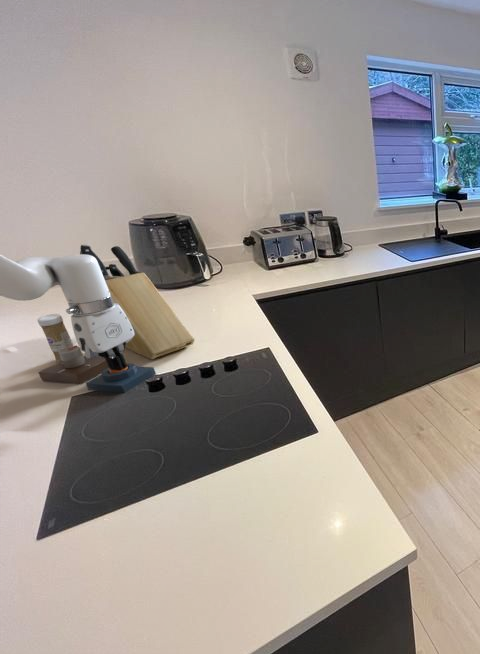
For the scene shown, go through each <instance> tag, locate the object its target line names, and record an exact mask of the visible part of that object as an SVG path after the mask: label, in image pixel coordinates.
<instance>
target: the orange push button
mask: <svg viewBox="0 0 480 654" xmlns="http://www.w3.org/2000/svg"><path fill="white" fill-rule="evenodd" d="M126 369H128V367H126V368H123V369H122V370H111V369H110V370H109V373H111V374H113V373H119V372H122V371H124V370H126Z"/></svg>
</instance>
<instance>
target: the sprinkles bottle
mask: <svg viewBox="0 0 480 654" xmlns="http://www.w3.org/2000/svg"><path fill="white" fill-rule="evenodd" d="M36 321H37V324H38V325H39V326H40V327H41V329H42V331H43V334H44V336H45V338H46V341H47V343H48V345H49V347H50V350H51V351H52V353H53V355H54V358H55V361H57V362H61V361H62V360H61V358H60V356H59V353H58V352H59V351H61V350H63V349H65V348H69V347H73V346H75V345H74V343H73V341H72V338H71V336H70V334H69V331H68V329H67V328H66V325H65V324H64V319H63V317H62V315H61V314H60V313H52V314H51V313H50V314H45V315H43V316H40V317H39V318H37V320H36Z"/></svg>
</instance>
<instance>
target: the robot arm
mask: <svg viewBox="0 0 480 654" xmlns="http://www.w3.org/2000/svg"><path fill="white" fill-rule="evenodd" d="M56 286H59V287H60V289H61V291H62V293H63V295H64V297H65V300H66V302H67V305H68V308H66V309H65V312H66V314H68V315H71V316H70V322H71V327H72V330H73V334H74V337H75V340H76V343H77V346H78V347H80V349H81V352H82V353H83V352H84V353H85V354H84V355H85V356H86V358H96V357H102V358H105V359H106V362H107V364H108V366H109V368H110V369H111V370H122V369H123V368H126V367H127V365H126V363H127V362H126V359H125V356H124V353H125V348H126V347H125V345H126V343H128V342H129V341H130V340H131V339H132V338H133V337H134V330H133V328H132V326H131V324H130V322H129V320H128V318H127V316H126V314H125V313H124V311H123V310H122V308H121V307H120V306H119V305H118V304H116V303H114V302H113V299H112V297H111V294H110V292H109V289H108V287H107V284H106V282H105V279H104V277H103V274H102V272H101V269H100V266H99V264H98V262H97V260H96V258H95V257H93V256H91V255H85V254H80V253H79V254H71V255H65V256H57V257H56V256H55V257H54V256H52V257H50V256H34V257H32V256H31V257H30V256H29V257H23V258H20V259H17V260H16V261H13V260H12V259H10V258H8V257H6V256H4V255H2V254H1V253H0V297H3V298H6V299H10V300H13V301H19V302H21V301H22V302H23V301H24V302H25V301H32V300H36V299H38V298H41V297H42V296H44V295H45V294H46V293H47V292H48V291H49V290H50V289H51V288H54V287H56Z"/></svg>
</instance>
